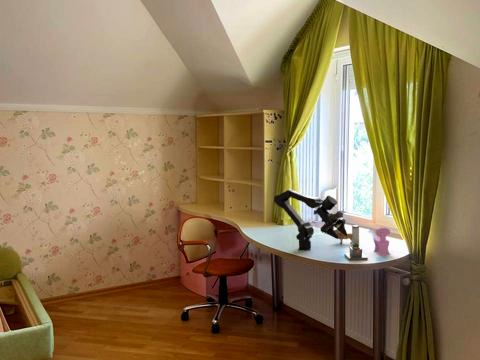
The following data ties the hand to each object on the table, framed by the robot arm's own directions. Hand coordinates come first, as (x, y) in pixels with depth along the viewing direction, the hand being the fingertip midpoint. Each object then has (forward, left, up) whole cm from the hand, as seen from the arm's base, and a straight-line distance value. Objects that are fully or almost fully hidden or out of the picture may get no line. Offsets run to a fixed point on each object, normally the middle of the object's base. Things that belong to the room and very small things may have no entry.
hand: (342, 237), depth 256 cm
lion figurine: (0, +28, -11) cm, 30 cm away
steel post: (+7, -4, -5) cm, 10 cm away
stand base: (+7, -4, -10) cm, 13 cm away
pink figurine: (+21, +9, -11) cm, 25 cm away
